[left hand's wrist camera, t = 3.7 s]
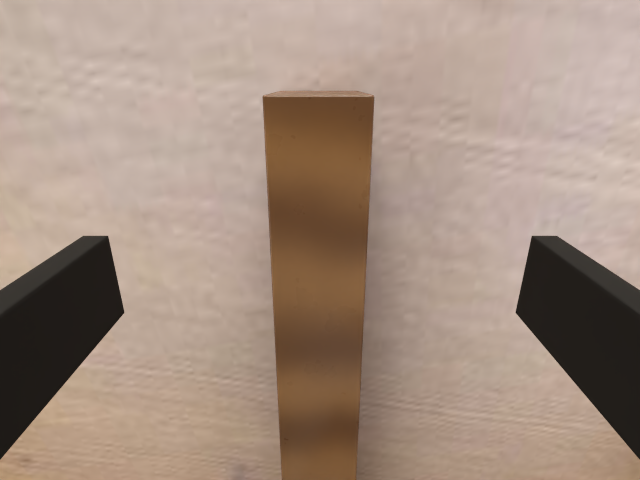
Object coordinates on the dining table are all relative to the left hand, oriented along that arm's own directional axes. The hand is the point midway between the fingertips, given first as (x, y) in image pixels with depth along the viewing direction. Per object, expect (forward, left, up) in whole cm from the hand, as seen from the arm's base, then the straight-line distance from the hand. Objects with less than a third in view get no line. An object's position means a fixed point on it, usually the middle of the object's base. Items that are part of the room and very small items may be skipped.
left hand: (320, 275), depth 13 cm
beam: (+6, -20, -14) cm, 25 cm away
